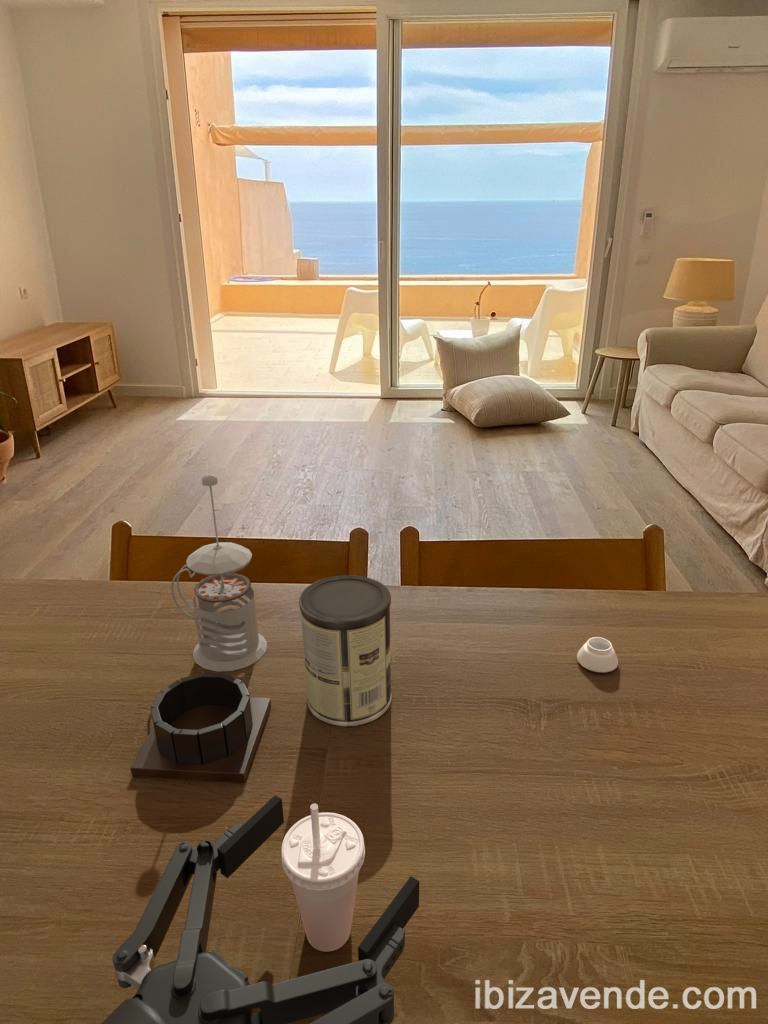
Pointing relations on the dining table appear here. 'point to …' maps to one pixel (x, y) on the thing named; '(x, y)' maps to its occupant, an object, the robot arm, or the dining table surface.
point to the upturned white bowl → (598, 655)
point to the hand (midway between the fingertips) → (343, 846)
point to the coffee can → (347, 649)
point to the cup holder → (203, 730)
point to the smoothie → (324, 875)
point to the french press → (223, 604)
